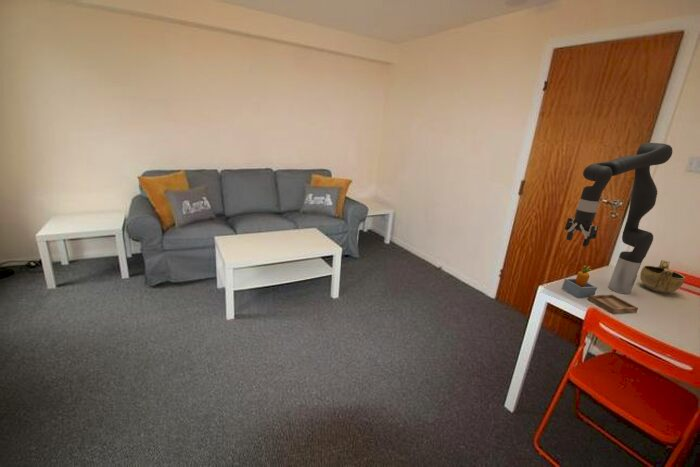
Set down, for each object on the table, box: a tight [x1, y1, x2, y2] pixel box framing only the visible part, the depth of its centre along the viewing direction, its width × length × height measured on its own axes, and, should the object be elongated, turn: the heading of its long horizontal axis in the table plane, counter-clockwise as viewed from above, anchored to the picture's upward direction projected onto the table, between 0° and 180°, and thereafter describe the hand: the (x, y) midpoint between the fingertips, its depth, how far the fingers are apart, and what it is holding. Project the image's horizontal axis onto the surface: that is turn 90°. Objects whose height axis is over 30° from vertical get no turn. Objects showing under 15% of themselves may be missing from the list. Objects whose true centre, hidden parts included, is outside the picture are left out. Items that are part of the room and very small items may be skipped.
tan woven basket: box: [639, 259, 686, 294], centre depth 178 cm, size 22×17×15 cm
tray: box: [587, 294, 639, 315], centre depth 156 cm, size 14×12×2 cm
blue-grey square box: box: [561, 278, 598, 299], centre depth 166 cm, size 10×10×6 cm
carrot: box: [575, 265, 592, 287], centre depth 164 cm, size 5×5×15 cm
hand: (576, 243), depth 157 cm, fingers open, 8 cm apart
